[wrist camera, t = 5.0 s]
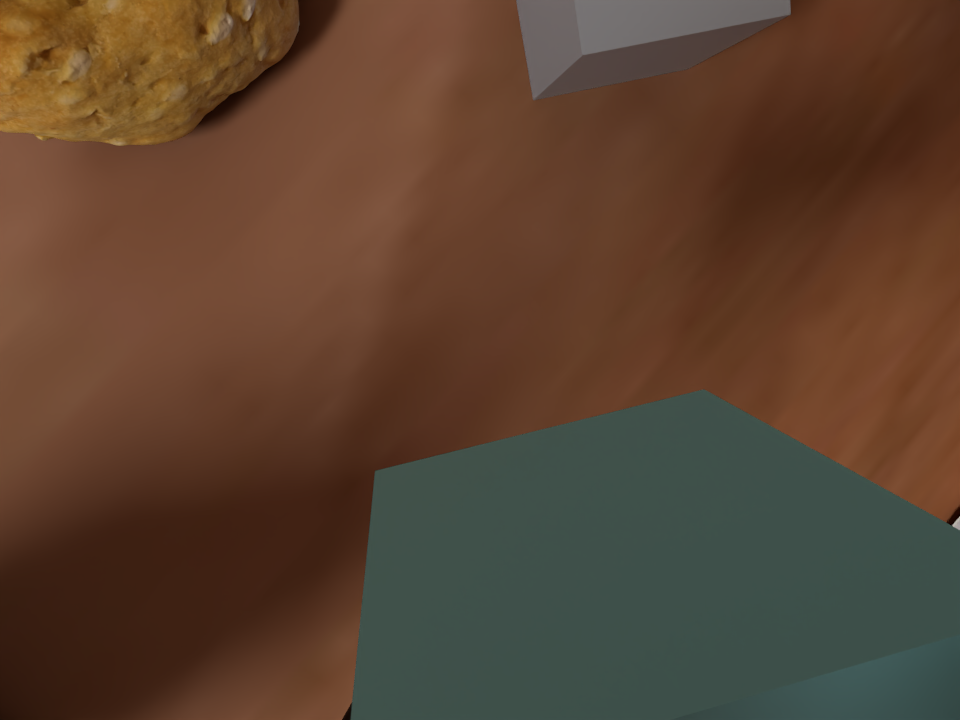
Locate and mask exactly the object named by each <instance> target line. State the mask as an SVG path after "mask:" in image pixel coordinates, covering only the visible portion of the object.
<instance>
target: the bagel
mask: <svg viewBox="0 0 960 720" xmlns="http://www.w3.org/2000/svg"><path fill="white" fill-rule="evenodd" d="M299 25H300V22H299V4H298V0H0V130H1V131H4V132H12V133H31V134H35V136H36V137H37V138H39V139H41V140H48V139H52V138H57V139H62V140H67V141H74V142H77V141H98V142H105V143H110V144H114V145H118V146H125V145H149V144H152V145H155V144H160V143H164V142H169V141H173V140H176V139H179V138H181V137H184V136H186V135H187V134H189V133H190V132H192V131H193V130H194V128H195V127H196V126H197V125H198V124H199V122H200V121H201V120H202V118H203V117H204V116H205V115H206V114H207V113H208V112H210V111H212V110H213V109H214V108H215V107H216V106H217V105H219V104H220V103H221V102H222V101H224V100H225V99H226V98H227V97H228V96H229V95H230V94H233V93H235V92H237V91H241V90H242V89H244V88H245V87H246V86H248V84H249V83H250V82H251V81H253V80H254V79H256V78H257V77H258V76H259V75H260V74H261V73H262V72H263V71H264V70H266V69H267V68H269V67H271V66H272V65H274V64H275V63H277V62H279V61H280V60H281V59H282V58H283V57H284V55H285V54H286V53H287V52H288V51H289V49H290V47H291V46H292V44H293V42H294V39H295V37H296V35H297V33H298V28H299Z"/></svg>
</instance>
